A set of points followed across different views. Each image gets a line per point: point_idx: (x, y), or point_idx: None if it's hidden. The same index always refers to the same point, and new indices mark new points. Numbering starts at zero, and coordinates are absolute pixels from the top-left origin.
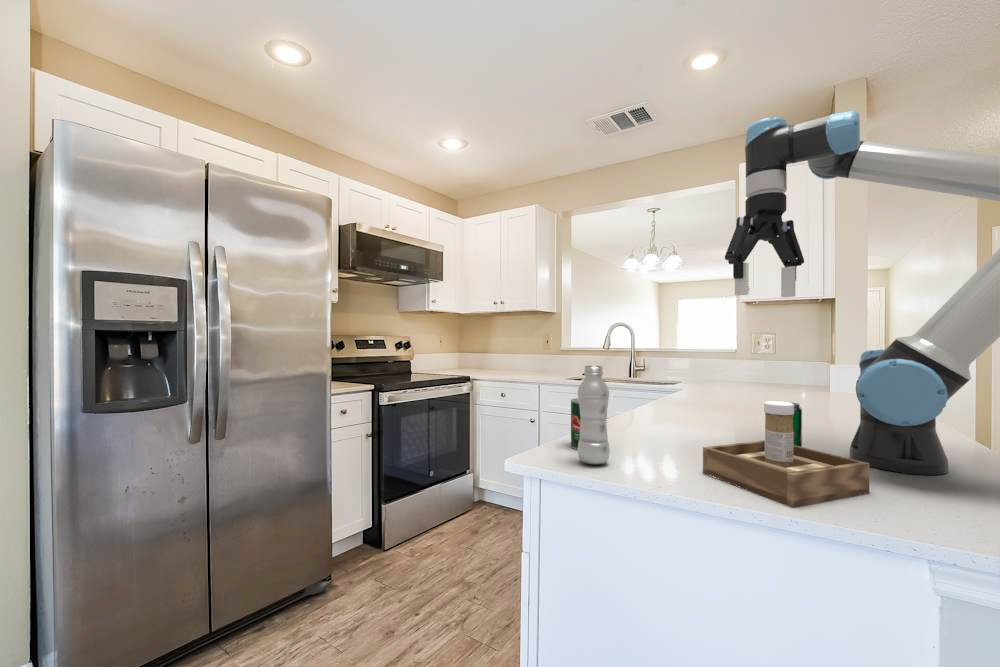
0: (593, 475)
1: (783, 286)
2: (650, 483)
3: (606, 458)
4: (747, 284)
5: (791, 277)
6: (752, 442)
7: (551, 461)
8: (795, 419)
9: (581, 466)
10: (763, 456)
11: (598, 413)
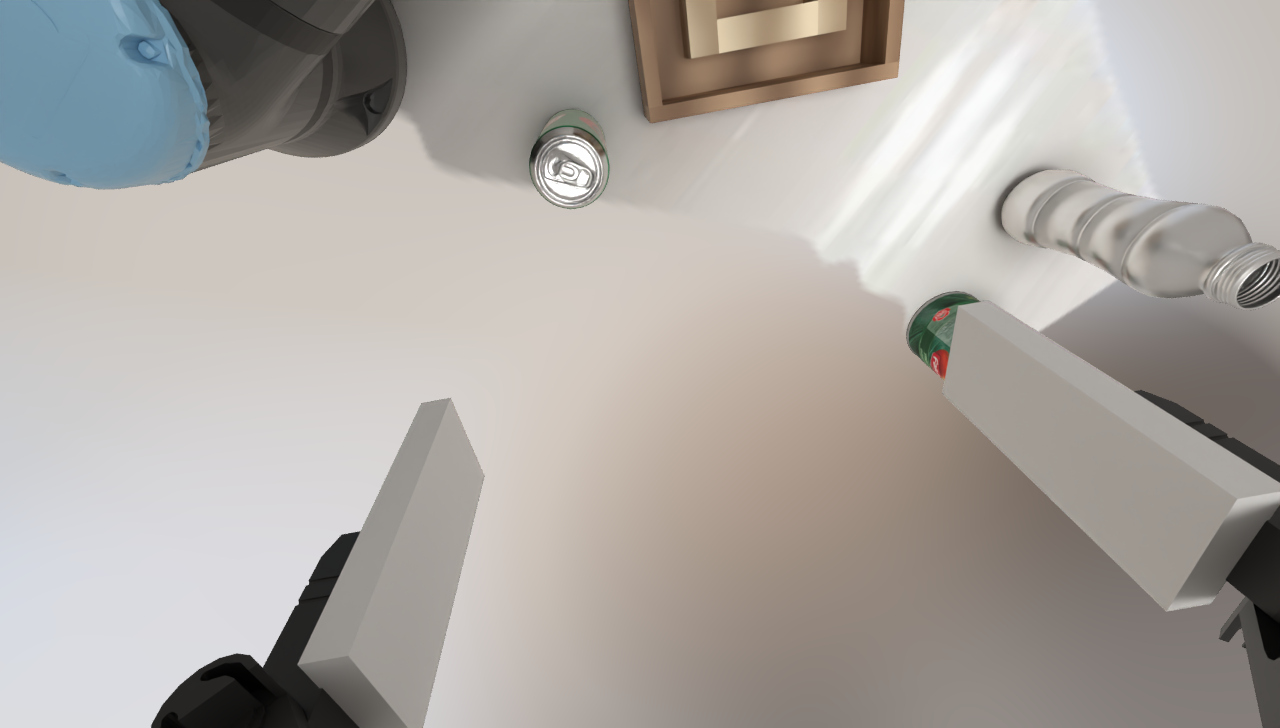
0: (1092, 115)
1: (460, 528)
2: (1031, 28)
3: (1033, 175)
4: (1030, 341)
5: (406, 537)
6: (729, 101)
7: None
8: (575, 122)
9: None
10: (766, 10)
11: (1150, 199)
